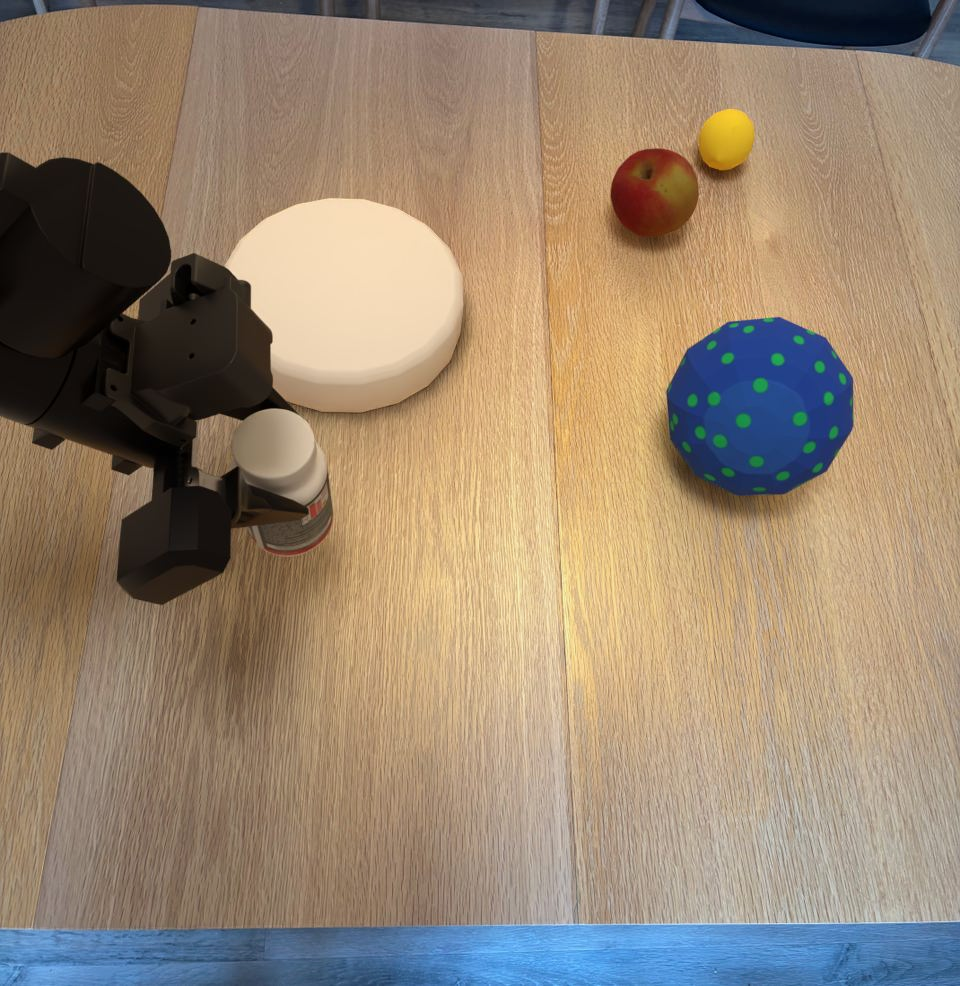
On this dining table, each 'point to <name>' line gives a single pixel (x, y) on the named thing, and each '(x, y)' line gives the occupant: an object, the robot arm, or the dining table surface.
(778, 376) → the green-spotted blue ball
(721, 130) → the lemon
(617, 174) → the apple
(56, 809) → the dining table surface
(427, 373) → the container
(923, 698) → the dining table surface
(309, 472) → the pill bottle
